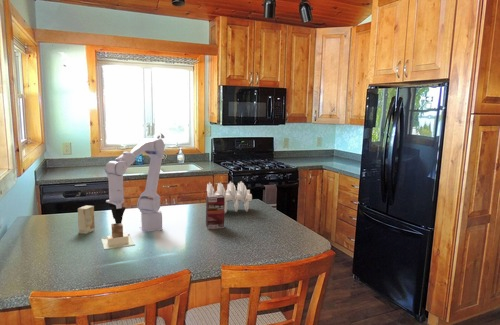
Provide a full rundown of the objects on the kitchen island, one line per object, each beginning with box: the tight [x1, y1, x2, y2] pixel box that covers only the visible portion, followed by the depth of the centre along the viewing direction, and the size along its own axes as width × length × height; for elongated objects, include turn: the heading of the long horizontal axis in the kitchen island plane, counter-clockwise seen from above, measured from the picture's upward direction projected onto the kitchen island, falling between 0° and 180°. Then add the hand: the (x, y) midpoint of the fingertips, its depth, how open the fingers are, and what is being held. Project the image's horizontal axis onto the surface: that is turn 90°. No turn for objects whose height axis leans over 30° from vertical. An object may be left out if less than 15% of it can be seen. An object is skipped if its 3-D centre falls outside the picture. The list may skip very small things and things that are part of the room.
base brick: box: [106, 232, 129, 246], centre depth 152 cm, size 8×4×3 cm, turn 118°
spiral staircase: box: [206, 180, 253, 214], centre depth 202 cm, size 18×18×25 cm
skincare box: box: [77, 204, 96, 235], centre depth 165 cm, size 6×4×12 cm
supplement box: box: [205, 195, 225, 230], centre depth 175 cm, size 9×5×16 cm, turn 107°
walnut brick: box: [111, 222, 124, 238], centre depth 151 cm, size 4×4×5 cm
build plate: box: [100, 233, 136, 251], centre depth 153 cm, size 12×14×1 cm
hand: (117, 220), depth 151 cm, fingers open, 7 cm apart
